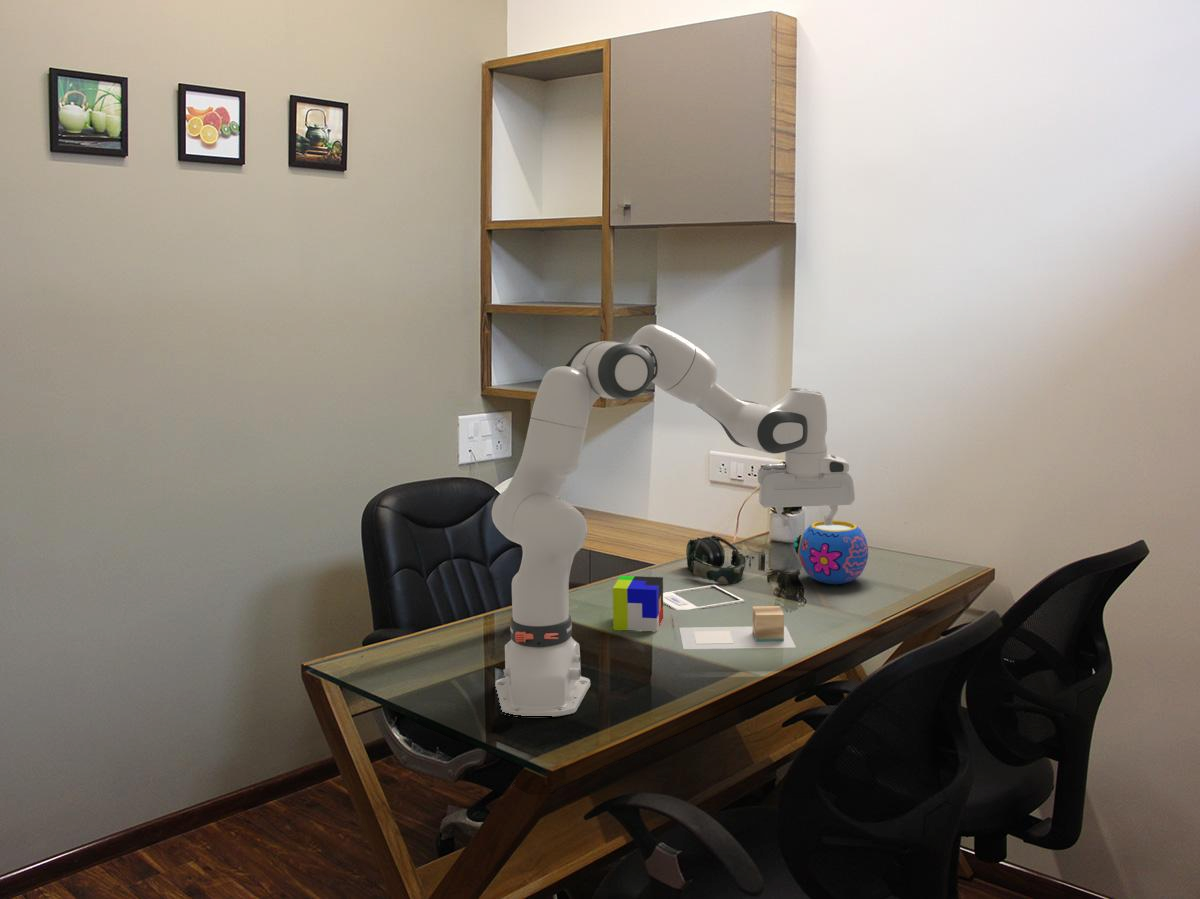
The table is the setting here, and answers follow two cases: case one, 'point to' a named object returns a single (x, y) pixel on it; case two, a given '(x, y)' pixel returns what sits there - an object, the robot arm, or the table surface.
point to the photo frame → (682, 604)
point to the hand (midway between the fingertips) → (806, 525)
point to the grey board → (728, 638)
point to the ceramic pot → (832, 551)
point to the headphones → (714, 560)
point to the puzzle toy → (638, 603)
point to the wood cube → (768, 623)
